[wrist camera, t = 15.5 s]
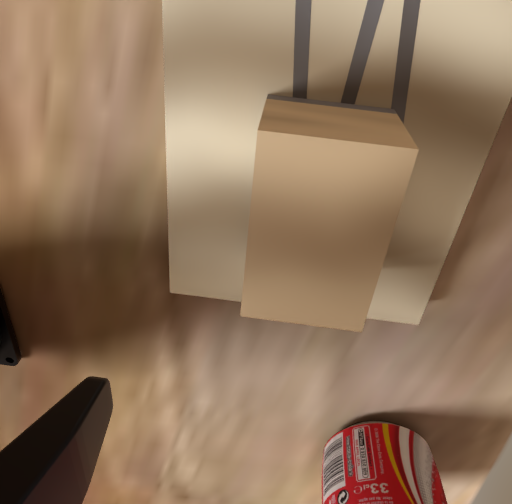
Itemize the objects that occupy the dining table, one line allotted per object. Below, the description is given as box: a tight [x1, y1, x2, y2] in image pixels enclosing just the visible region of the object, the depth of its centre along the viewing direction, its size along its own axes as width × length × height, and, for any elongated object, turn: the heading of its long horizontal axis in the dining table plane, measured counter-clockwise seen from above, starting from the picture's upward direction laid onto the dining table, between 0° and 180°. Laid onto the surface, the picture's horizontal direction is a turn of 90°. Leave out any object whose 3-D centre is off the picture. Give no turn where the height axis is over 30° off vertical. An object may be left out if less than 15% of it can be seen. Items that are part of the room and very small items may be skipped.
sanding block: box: [240, 94, 419, 332], centre depth 16 cm, size 7×4×4 cm, turn 175°
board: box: [162, 0, 512, 325], centre depth 16 cm, size 20×12×2 cm, turn 175°
